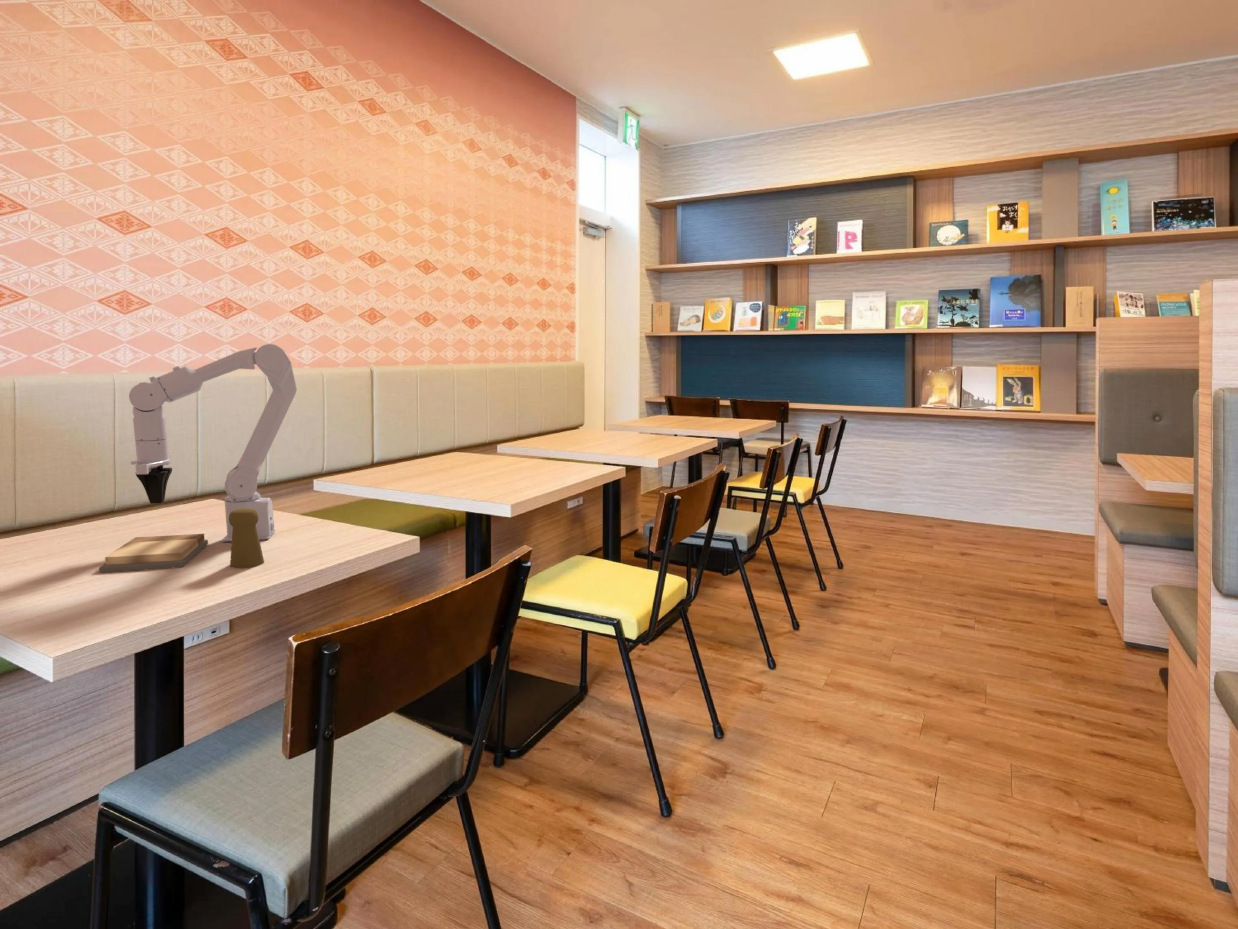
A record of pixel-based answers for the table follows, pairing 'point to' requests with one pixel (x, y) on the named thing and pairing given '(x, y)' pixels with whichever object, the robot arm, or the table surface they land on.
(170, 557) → the oak plank
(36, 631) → the table surface
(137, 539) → the brown curved block
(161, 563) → the rubber mat
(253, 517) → the olive pawn
